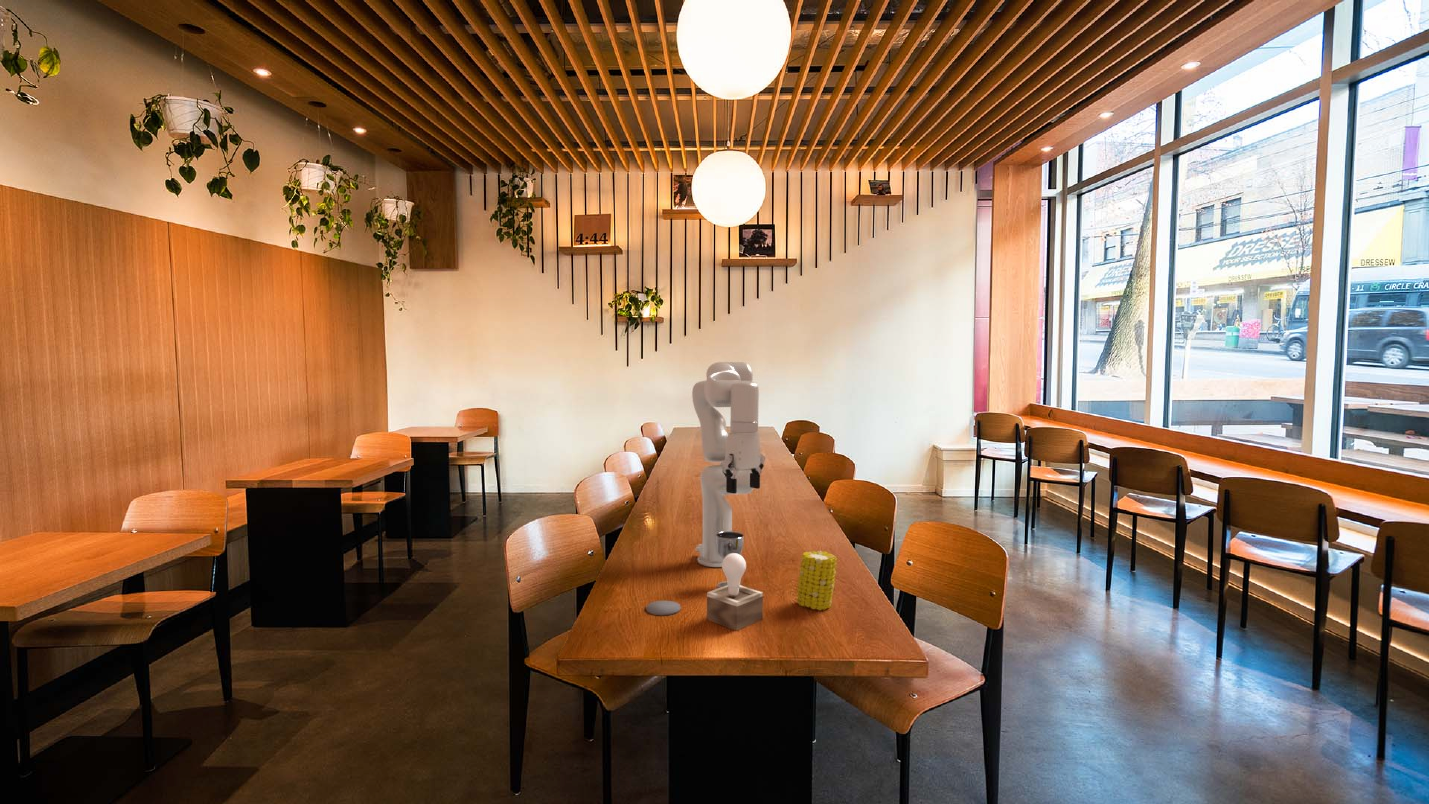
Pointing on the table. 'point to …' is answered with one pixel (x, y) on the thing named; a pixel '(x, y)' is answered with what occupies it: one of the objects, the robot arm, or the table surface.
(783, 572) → the table surface
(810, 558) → the food
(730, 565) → the lightbulb
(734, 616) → the square holder
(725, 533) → the wine glass
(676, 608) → the grey flat disc
